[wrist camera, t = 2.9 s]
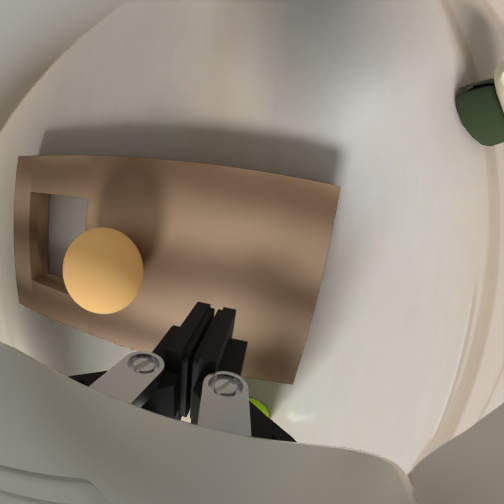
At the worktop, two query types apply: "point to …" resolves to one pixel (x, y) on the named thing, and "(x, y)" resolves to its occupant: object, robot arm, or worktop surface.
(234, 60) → the worktop surface
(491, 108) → the character mug
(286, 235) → the board
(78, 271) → the ball
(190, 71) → the worktop surface
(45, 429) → the robot arm
